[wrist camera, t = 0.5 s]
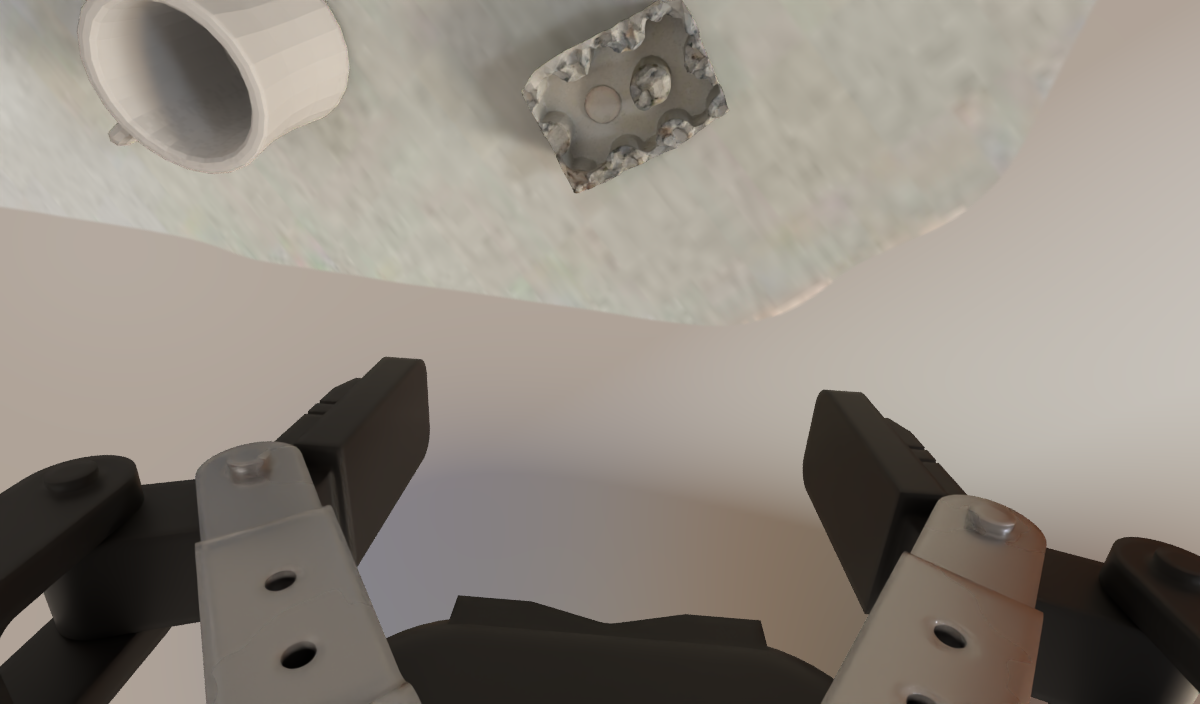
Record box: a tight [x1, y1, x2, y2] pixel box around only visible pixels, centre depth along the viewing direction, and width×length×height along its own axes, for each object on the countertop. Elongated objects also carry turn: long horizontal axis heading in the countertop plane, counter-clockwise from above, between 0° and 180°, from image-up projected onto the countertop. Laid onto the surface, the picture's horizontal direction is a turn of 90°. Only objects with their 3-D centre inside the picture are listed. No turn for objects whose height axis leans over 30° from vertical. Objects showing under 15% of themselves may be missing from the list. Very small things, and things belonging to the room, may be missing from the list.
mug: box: [77, 0, 350, 174], centre depth 33 cm, size 12×9×10 cm
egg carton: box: [521, 0, 729, 193], centre depth 34 cm, size 11×8×4 cm
